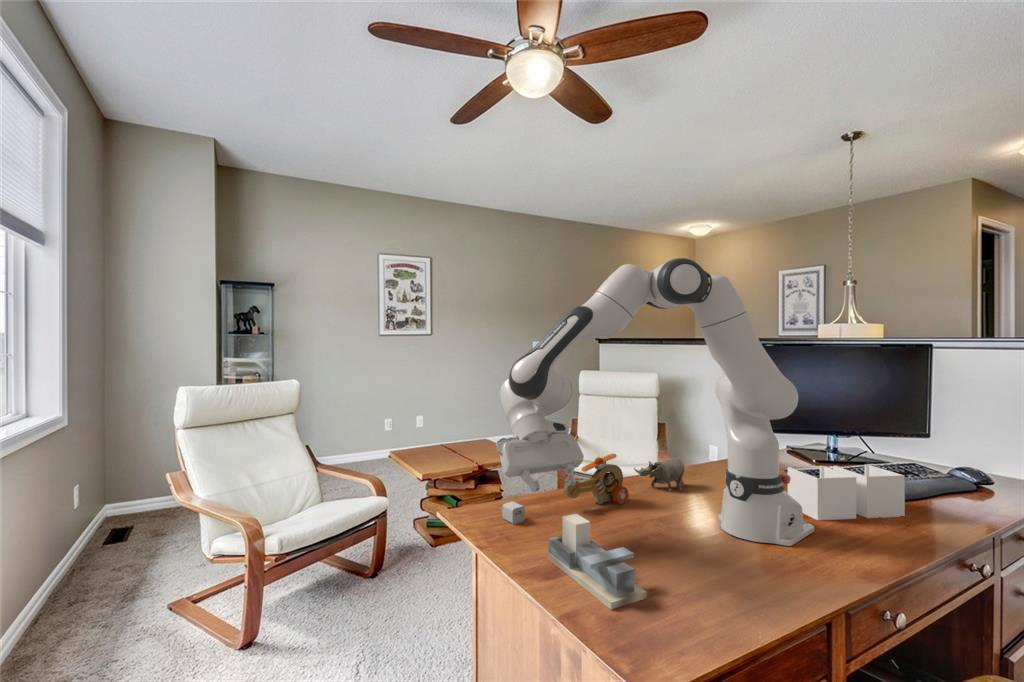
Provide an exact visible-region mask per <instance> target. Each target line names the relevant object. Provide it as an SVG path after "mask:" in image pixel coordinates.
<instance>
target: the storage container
mask: <svg viewBox="0 0 1024 682" xmlns="http://www.w3.org/2000/svg"><path fill="white" fill-rule="evenodd" d="M787 475H789V476H790V477H791V478H790V479H791V481H790V483H789V484H787V493H788V494H789V495H790V496H791V497H792V498H794V499H795V500H796V501H797V502H798V503H799V504H800V505H801V507H802V511H803V515H806V516H808V517H811V518H812V519H814V520H816V521H832V520H855V519H857V515H859V516H861V517H864V518H865V517H866V518H865V519H875V518H876V519H877V518H879V517H881V518H899V517H900V516H904V517H905V515H906V513H905V511H906V507H905V503H906V502H905V501H906V497H905V496H906V493H905V492H906V490H905V489H906V488H905V486H906V484H905V481H906V480H905V478H906V477H905V475H904V474H900V473H897V472H894V471H891V470H887V469H884V468H881V467H878V466H877V467H876V466H874V465H871V464H864V474H861V473H857V472H854V471H851V470H849V469H847V468H844V467H843V468H842V467H840V466H838V465H833V467H832V468H830V467H827V466H825V465H819V477H816V476H814V475H811V474H808V473H806V472H803V471H800V470H798V469H796V468H793V467H792V466H788V467H787Z"/></svg>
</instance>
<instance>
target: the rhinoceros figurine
mask: <svg viewBox="0 0 1024 682" xmlns="http://www.w3.org/2000/svg"><path fill="white" fill-rule="evenodd" d="M633 470H634V471H635V472H636V473H637V474H638V475H639V476H641V477H647V476H649V479H652V478H653V479H652V481H651V483H650V484H651V487H654V488H655V484H656V483H657V484H659V485H660V484H661V485H665V484H667V486H668V487H667V488H668V490H667V492H668V491H669V493H671V492H672V485H671V482H675V484H676V486H675V489H676V490H678V491H682V487H681V486H685V482H684V480H683V476H684V475H685V464H684V463H683V461H682V460H681V459H680V458H679V457H676V456H675V457H669V458H666V459H664V460H663V461H656V462H653V463H652V462H651V461H650V460H648V466H646V467H644V468H643V467H641V468H640V469H636V467H633ZM651 487H650V488H651Z"/></svg>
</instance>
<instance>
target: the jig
mask: <svg viewBox="0 0 1024 682" xmlns="http://www.w3.org/2000/svg"><path fill="white" fill-rule="evenodd" d="M546 556H547V560H548V561H550V562H551V563H553V564H554V565H555V566H556V567H557V568H558V569H560V570H561V571H562V572H563V573H564V574H566V575H567V576H568V577H570V578H571V579H573V581H575V583H577V584H579V586H581V587H582V588H583V589H584V590H586V591H587V592H588V593H590V594H591V595H592V596H593V597H595V598H596V599H597V600H598V601H599V602H601V604H603V605H605V607H607V608H608V609H609V610H610V611H611V610H614V609H618V608H621V607H624V606H627V605H630V604H633V603H636V602H640V601H642V600H646V599H647V597H648V591H647V590H646V589H643V588H642V587H641V586H639V585H638V584H636V583H635V568H633V567H631V566H630V565H628V564H627V563H626V562H624V561H626V560H630V559H633V558H634V557H635V552H633V551H631V550H630V549H627V548H626V547H624V546H622V547H618V548H617V547H616V548H614V549H609V550H605V549H604V548H602V547H601V546H600V545H598V544H597V543H596V542H594V541H592V540H591V539H590V544H587V545H583V546H579V547H577V565H576V564H575V552H574V551H572V550H571V549H569V548H568V547H566V546H565V545H564V544H562V535H557V536H553V537H549V538H548V552H547V555H546Z"/></svg>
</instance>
